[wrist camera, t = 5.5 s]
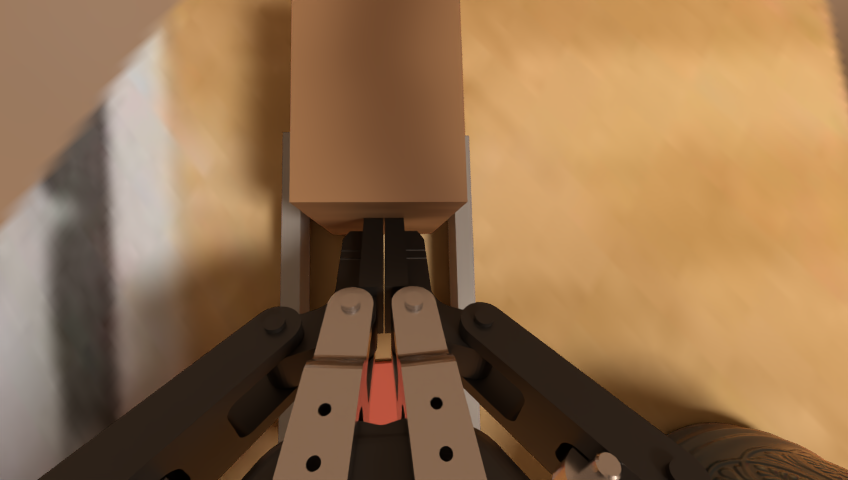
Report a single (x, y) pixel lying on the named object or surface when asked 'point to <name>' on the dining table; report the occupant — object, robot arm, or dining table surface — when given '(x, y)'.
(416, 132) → the block
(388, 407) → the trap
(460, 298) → the channel
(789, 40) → the dining table surface
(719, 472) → the canister
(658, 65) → the dining table surface
